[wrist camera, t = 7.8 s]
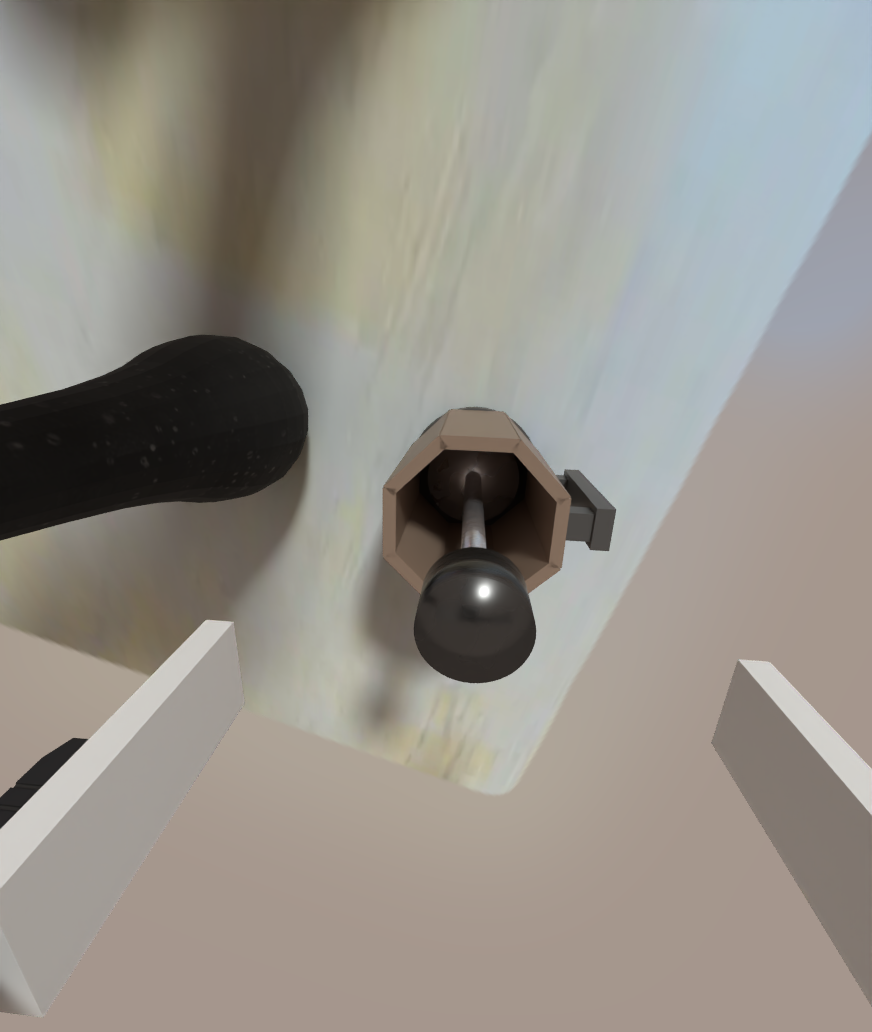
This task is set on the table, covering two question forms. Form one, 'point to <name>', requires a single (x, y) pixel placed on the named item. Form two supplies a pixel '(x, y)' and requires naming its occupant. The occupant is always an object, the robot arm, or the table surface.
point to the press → (513, 533)
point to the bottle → (151, 434)
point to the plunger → (474, 576)
